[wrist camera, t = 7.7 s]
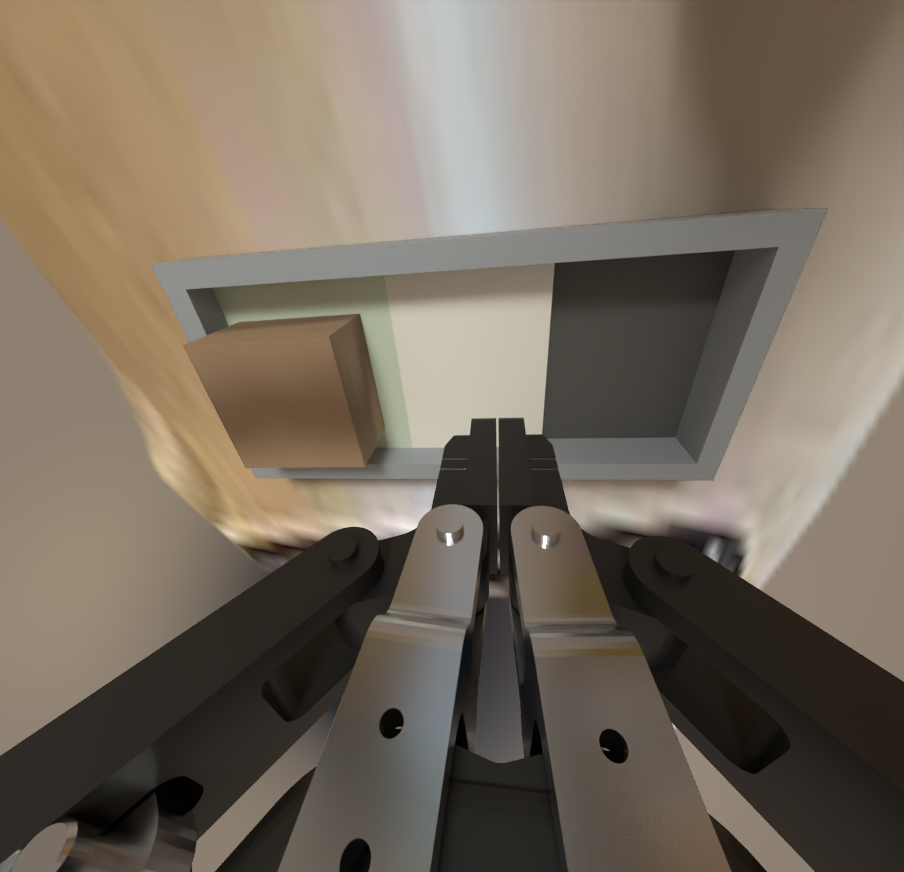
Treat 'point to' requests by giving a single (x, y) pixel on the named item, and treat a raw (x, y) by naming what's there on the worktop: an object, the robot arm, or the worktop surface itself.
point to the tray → (538, 333)
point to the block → (293, 390)
